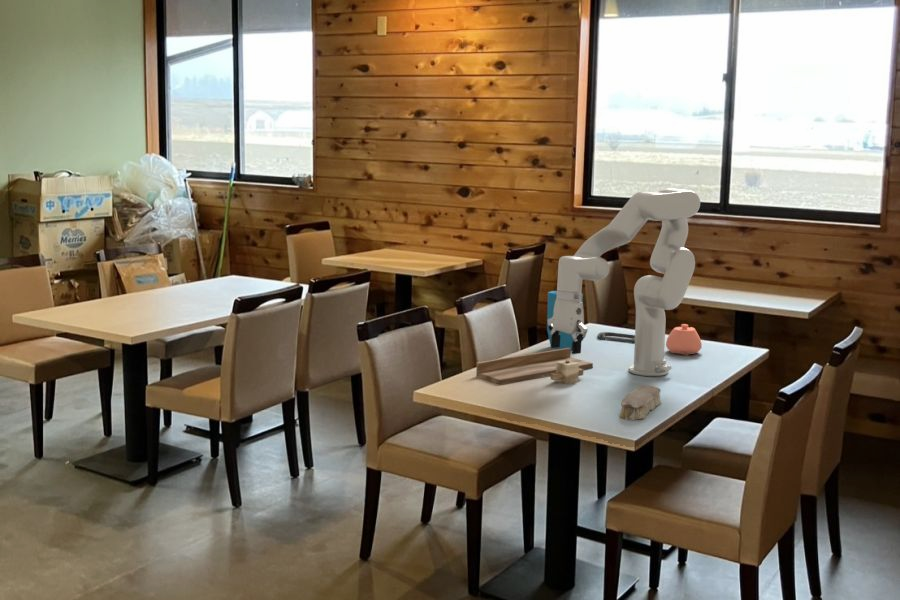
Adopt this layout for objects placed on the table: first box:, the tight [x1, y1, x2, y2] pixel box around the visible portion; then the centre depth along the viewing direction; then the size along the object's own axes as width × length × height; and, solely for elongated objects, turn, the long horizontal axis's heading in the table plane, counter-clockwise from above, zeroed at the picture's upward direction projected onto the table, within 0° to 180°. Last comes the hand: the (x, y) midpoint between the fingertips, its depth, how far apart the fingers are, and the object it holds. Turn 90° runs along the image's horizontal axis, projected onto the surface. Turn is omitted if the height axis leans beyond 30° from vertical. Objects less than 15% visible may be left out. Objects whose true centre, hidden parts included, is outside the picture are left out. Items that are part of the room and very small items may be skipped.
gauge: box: [550, 360, 584, 385], centre depth 306 cm, size 5×12×7 cm, turn 125°
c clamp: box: [597, 331, 635, 344], centre depth 366 cm, size 20×17×3 cm
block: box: [546, 290, 584, 352], centre depth 350 cm, size 12×5×20 cm, turn 59°
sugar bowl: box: [665, 323, 703, 357], centre depth 346 cm, size 12×14×10 cm
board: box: [476, 348, 594, 385], centre depth 317 cm, size 12×39×4 cm, turn 125°
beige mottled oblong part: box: [618, 384, 662, 422], centre depth 276 cm, size 24×8×5 cm, turn 154°
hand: (565, 350), depth 304 cm, fingers open, 9 cm apart
